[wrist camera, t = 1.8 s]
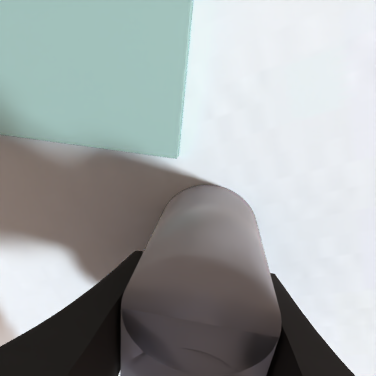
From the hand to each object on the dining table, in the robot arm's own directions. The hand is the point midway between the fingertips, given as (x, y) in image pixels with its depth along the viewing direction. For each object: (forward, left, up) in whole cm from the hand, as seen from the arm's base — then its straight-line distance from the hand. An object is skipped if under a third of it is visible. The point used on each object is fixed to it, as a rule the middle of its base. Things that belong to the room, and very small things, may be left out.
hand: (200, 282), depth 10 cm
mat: (+8, +6, -1) cm, 10 cm away
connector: (0, 0, -2) cm, 2 cm away
